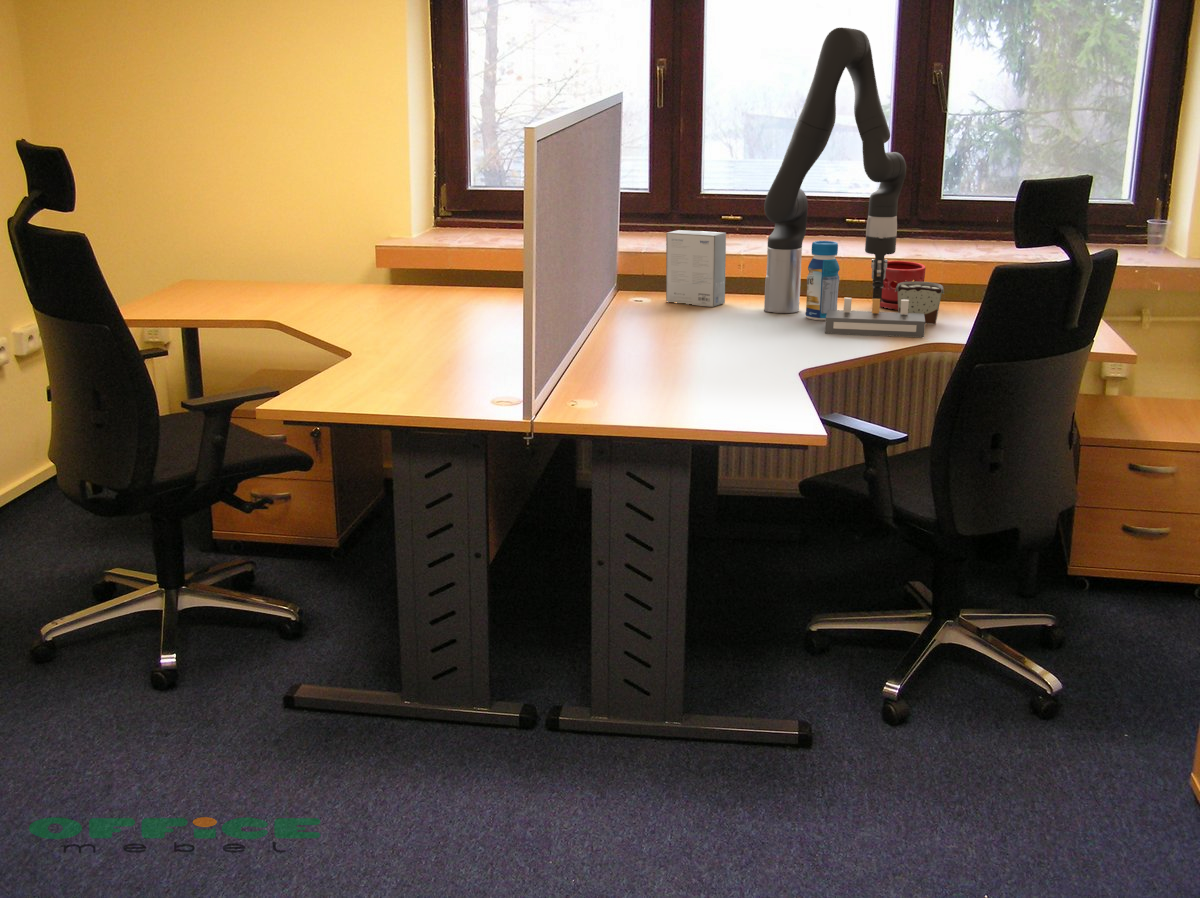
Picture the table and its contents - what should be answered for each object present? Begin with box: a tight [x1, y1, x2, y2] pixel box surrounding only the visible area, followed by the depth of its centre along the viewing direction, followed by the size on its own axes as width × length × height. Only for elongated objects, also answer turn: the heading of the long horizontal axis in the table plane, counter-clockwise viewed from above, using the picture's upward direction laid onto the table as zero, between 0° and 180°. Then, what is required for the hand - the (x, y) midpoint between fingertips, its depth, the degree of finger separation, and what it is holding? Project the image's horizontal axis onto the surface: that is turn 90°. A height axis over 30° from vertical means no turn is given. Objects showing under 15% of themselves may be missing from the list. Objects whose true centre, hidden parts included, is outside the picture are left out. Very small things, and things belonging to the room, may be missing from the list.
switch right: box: [900, 300, 909, 315], centre depth 293 cm, size 2×1×4 cm
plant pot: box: [880, 260, 927, 311], centre depth 322 cm, size 13×13×12 cm
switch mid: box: [871, 298, 881, 314], centre depth 294 cm, size 2×1×4 cm
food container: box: [895, 281, 945, 326], centre depth 304 cm, size 12×6×10 cm, turn 71°
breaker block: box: [824, 309, 926, 338], centre depth 294 cm, size 24×10×4 cm, turn 77°
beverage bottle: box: [805, 240, 840, 322], centre depth 307 cm, size 8×8×20 cm
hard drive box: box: [665, 229, 727, 308], centre depth 328 cm, size 16×8×20 cm, turn 58°
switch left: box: [843, 297, 853, 312], centre depth 296 cm, size 2×1×4 cm
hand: (876, 302), depth 300 cm, fingers closed
